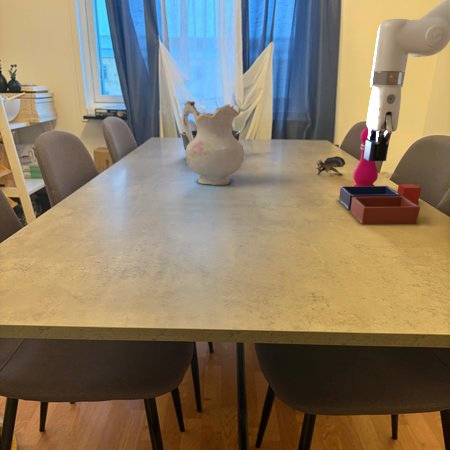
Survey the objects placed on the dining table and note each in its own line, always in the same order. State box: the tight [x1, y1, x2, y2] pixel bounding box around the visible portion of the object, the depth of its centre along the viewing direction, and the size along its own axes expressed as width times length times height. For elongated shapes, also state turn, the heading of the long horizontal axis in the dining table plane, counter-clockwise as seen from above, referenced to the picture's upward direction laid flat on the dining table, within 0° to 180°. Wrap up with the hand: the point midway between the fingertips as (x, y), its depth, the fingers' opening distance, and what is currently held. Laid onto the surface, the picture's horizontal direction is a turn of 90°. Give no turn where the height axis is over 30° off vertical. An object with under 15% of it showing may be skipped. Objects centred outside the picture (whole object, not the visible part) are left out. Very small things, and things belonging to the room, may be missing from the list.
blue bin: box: [338, 185, 401, 212], centre depth 117 cm, size 13×10×4 cm
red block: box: [396, 183, 422, 205], centre depth 120 cm, size 4×4×4 cm
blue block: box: [364, 140, 390, 162], centre depth 111 cm, size 4×4×4 cm
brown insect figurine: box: [315, 155, 347, 177], centre depth 153 cm, size 8×7×9 cm
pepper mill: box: [352, 126, 382, 186], centre depth 129 cm, size 7×7×20 cm
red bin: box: [349, 196, 421, 225], centre depth 107 cm, size 13×10×4 cm
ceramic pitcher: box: [181, 100, 245, 186], centre depth 141 cm, size 22×20×25 cm
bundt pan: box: [180, 129, 241, 152], centre depth 191 cm, size 26×26×10 cm
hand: (374, 158), depth 112 cm, fingers closed on blue block, 4 cm apart
